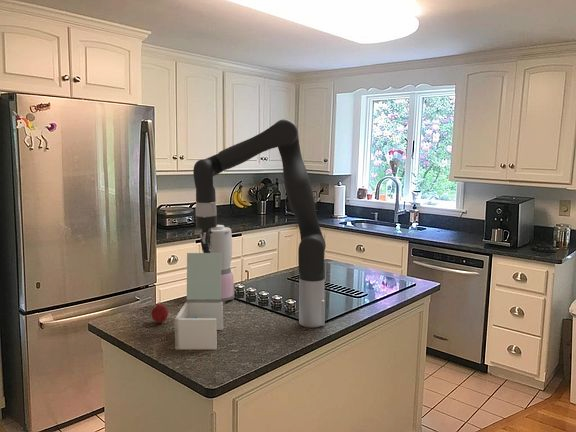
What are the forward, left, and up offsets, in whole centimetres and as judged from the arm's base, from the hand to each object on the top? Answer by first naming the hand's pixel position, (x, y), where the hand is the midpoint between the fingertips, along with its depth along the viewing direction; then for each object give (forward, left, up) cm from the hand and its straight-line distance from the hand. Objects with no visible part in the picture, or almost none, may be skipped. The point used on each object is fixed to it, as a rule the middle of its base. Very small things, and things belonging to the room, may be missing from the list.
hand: (207, 260), depth 175 cm
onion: (+17, +3, -23) cm, 29 cm away
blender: (0, -25, -23) cm, 34 cm away
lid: (0, +8, -4) cm, 9 cm away
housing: (0, +17, -23) cm, 29 cm away
